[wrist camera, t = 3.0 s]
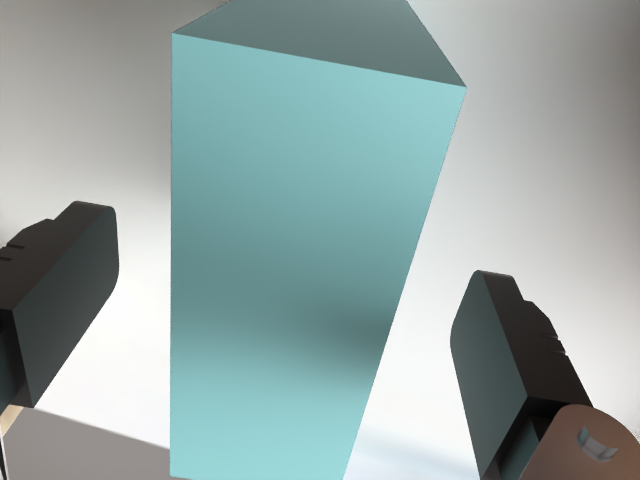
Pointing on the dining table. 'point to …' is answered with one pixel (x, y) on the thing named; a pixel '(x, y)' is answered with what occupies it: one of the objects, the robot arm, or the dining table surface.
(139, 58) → the dining table surface
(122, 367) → the dining table surface
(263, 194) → the teal arch block
